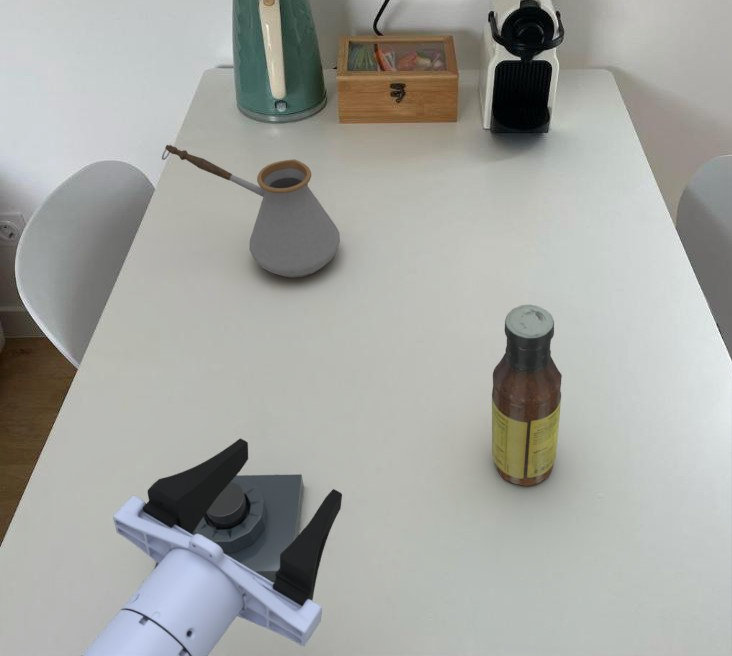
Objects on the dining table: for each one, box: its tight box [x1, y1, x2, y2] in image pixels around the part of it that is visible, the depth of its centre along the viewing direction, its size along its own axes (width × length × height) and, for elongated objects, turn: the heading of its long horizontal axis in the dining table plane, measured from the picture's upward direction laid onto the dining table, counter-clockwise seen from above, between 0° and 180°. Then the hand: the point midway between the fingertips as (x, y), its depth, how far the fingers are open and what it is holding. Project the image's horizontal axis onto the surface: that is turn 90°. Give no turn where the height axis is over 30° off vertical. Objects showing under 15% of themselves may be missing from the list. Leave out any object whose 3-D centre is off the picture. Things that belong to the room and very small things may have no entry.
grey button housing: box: [154, 473, 305, 583], centre depth 74 cm, size 12×10×4 cm
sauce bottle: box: [491, 304, 563, 487], centre depth 73 cm, size 7×6×20 cm
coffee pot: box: [161, 144, 341, 279], centre depth 101 cm, size 21×12×15 cm, turn 74°
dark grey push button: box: [206, 482, 248, 529], centre depth 72 cm, size 4×4×2 cm
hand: (289, 473), depth 56 cm, fingers open, 7 cm apart
